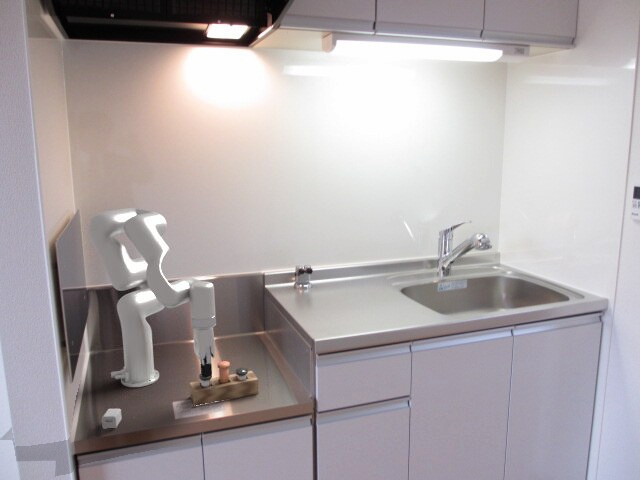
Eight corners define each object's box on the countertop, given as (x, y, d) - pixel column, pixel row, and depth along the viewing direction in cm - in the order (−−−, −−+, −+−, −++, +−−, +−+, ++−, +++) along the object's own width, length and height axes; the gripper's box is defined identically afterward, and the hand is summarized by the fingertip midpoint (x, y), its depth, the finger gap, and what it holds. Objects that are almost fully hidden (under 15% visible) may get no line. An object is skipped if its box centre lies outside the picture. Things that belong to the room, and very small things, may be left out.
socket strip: (194, 406, 161) (194, 392, 160) (190, 396, 167) (189, 382, 166) (258, 393, 170) (258, 379, 169) (252, 384, 176) (251, 370, 175)
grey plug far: (238, 393, 168) (237, 374, 167) (234, 387, 172) (234, 368, 170) (249, 390, 170) (249, 371, 168) (246, 385, 173) (245, 366, 172)
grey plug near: (201, 398, 163) (200, 378, 162) (198, 392, 167) (197, 373, 165) (213, 395, 165) (213, 376, 163) (211, 390, 168) (210, 371, 167)
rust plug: (219, 387, 165) (219, 367, 164) (216, 381, 169) (216, 362, 167) (231, 384, 167) (231, 365, 165) (228, 379, 170) (228, 360, 169)
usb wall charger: (102, 429, 149) (101, 416, 148) (111, 416, 155) (110, 404, 155) (116, 428, 149) (115, 416, 148) (124, 416, 156) (123, 404, 155)
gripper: (186, 315, 166) (190, 368, 169) (196, 330, 152) (199, 387, 156) (210, 312, 169) (212, 364, 172) (221, 326, 155) (224, 382, 159)
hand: (206, 375), depth 164 cm, fingers closed
